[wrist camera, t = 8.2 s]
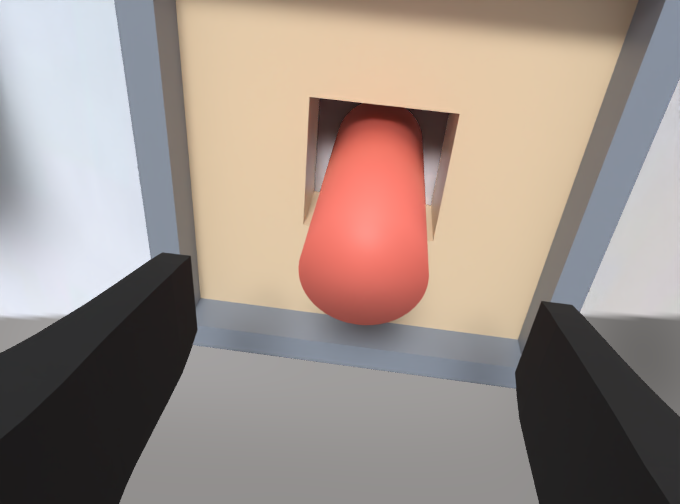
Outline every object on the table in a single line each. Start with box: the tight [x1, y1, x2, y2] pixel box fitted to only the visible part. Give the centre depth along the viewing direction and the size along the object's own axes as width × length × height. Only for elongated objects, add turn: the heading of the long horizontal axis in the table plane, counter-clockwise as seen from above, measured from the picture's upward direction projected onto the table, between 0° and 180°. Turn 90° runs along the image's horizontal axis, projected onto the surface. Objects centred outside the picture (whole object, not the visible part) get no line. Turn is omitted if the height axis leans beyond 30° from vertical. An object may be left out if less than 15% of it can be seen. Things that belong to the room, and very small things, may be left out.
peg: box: [298, 103, 429, 325], centre depth 16 cm, size 3×3×8 cm
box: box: [114, 0, 680, 388], centre depth 17 cm, size 14×14×4 cm
